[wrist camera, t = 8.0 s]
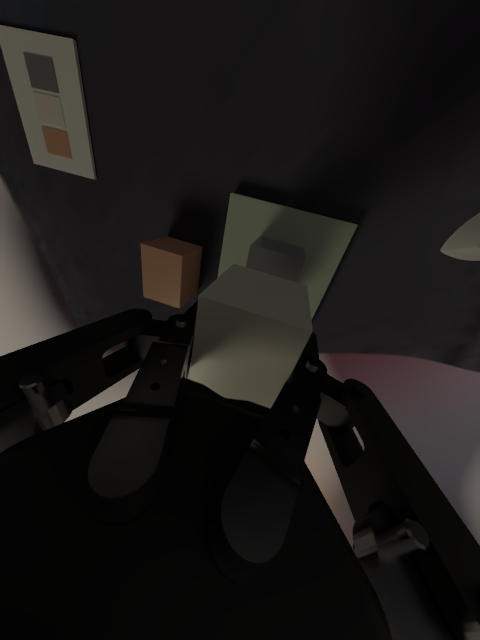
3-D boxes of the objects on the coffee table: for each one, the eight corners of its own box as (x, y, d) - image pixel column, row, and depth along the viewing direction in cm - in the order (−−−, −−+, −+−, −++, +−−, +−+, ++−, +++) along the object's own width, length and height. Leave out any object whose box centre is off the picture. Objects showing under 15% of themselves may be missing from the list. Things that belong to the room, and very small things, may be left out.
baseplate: (234, 193, 20) (211, 189, 15) (354, 223, 19) (376, 231, 14) (216, 298, 26) (197, 321, 21) (305, 325, 25) (308, 357, 20)
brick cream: (233, 263, 12) (198, 295, 8) (307, 285, 12) (312, 331, 7) (218, 340, 15) (187, 392, 11) (275, 359, 15) (267, 421, 11)
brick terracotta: (168, 236, 24) (140, 243, 20) (202, 246, 24) (182, 256, 19) (167, 282, 27) (143, 296, 23) (197, 291, 27) (179, 308, 23)
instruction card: (-2, 26, 18) (-7, 23, 18) (76, 41, 17) (71, 38, 17) (36, 163, 23) (32, 163, 23) (96, 179, 23) (93, 179, 22)
